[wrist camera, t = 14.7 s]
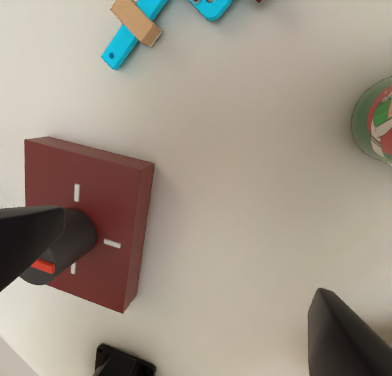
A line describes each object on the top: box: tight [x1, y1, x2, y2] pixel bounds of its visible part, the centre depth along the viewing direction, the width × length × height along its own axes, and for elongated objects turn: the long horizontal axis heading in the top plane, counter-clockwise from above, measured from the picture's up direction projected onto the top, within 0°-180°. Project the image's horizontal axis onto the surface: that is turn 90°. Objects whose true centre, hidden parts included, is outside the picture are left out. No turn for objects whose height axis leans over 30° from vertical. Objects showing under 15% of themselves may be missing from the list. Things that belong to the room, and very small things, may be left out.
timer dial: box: [20, 208, 97, 285], centre depth 20 cm, size 4×4×5 cm
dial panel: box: [24, 137, 154, 314], centre depth 23 cm, size 13×10×3 cm
